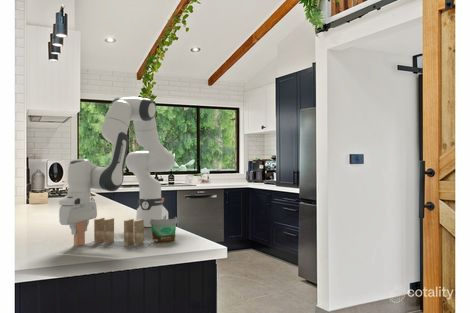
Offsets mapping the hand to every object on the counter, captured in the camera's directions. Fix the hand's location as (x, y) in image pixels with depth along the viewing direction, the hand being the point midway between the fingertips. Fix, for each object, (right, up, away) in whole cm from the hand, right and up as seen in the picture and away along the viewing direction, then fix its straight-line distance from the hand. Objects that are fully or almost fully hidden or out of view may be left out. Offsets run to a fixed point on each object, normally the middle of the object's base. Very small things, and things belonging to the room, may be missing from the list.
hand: (79, 232), depth 168 cm
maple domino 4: (+24, -5, -1) cm, 25 cm away
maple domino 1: (+7, -5, +3) cm, 9 cm away
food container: (+34, -5, +5) cm, 35 cm away
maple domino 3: (+20, -5, 0) cm, 21 cm away
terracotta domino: (0, -5, 0) cm, 5 cm away
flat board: (+16, -5, +1) cm, 17 cm away
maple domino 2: (+11, -5, +2) cm, 13 cm away
